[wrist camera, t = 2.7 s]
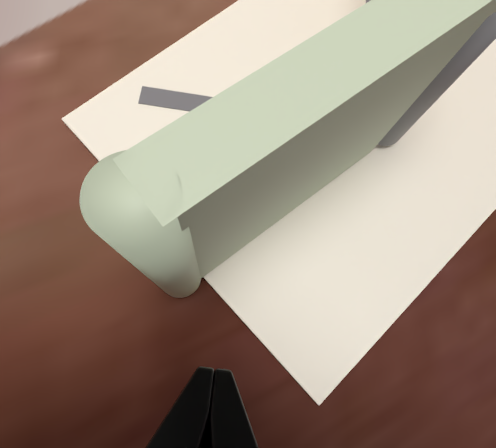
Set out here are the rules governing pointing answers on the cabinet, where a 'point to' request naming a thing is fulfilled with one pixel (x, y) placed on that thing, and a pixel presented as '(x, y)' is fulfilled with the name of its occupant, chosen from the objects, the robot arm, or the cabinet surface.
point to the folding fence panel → (279, 136)
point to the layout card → (322, 191)
